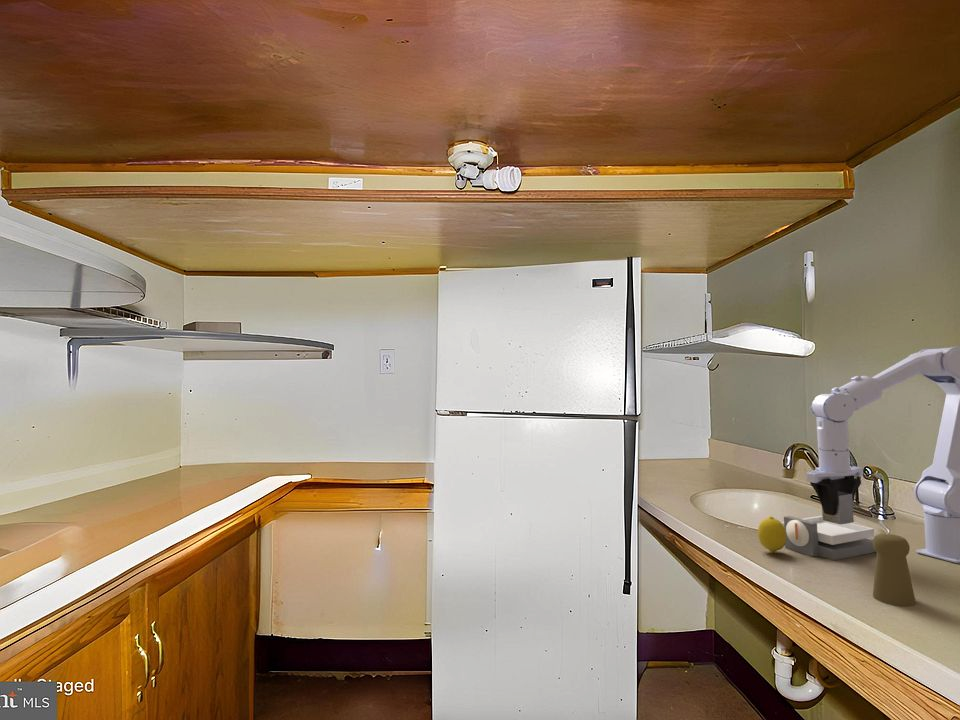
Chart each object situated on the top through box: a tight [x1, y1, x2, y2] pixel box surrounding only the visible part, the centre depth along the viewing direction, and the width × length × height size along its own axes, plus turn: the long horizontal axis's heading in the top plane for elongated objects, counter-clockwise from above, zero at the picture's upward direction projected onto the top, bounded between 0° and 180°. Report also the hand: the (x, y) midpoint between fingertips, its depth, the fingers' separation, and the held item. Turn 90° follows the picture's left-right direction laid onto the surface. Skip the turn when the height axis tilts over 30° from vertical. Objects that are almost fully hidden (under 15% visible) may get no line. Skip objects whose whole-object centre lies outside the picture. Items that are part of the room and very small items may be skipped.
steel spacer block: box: [821, 491, 855, 525], centre depth 118 cm, size 4×4×6 cm
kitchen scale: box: [780, 515, 877, 561], centre depth 125 cm, size 16×14×7 cm
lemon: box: [757, 516, 786, 554], centre depth 122 cm, size 6×6×8 cm
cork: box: [872, 533, 917, 607], centre depth 96 cm, size 6×6×11 cm
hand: (837, 513), depth 118 cm, fingers closed on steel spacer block, 4 cm apart
